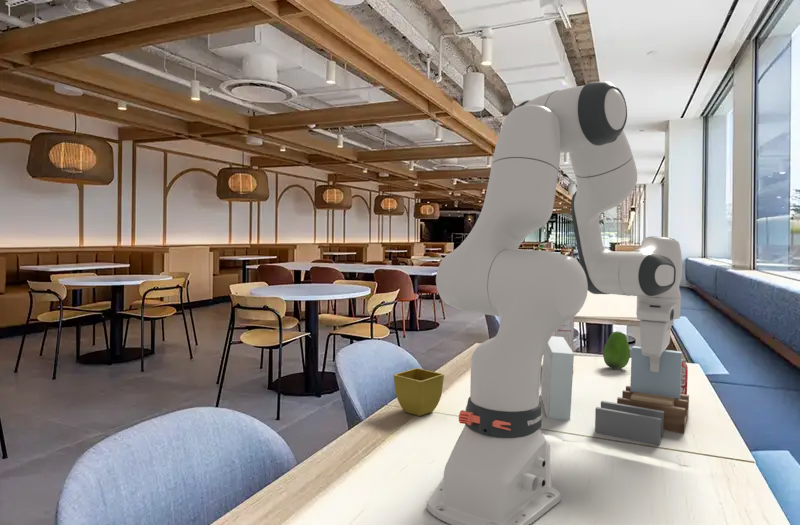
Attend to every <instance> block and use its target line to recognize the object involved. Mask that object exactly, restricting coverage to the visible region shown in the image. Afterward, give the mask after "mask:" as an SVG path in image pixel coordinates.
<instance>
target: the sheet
mask: <svg viewBox="0 0 800 525" xmlns="http://www.w3.org/2000/svg"><path fill="white" fill-rule="evenodd" d="M682 357H683V351H680V350H679V351H678V350H671V349H665V350H664V352H663V353H662V355H661V356H660V370H659V372H651V371H650V359H649V356H643V355H642V351H641V346H636V345H633V346H632V347H631V355H630V358H631V360H630V361H631V363H630V385H629V386H630V391H631V392H641V393H647V394H653V395H660V396H666V397H673V398H676V399H680V393H681V368H682Z"/></svg>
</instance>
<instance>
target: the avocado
mask: <svg viewBox="0 0 800 525" xmlns="http://www.w3.org/2000/svg"><path fill="white" fill-rule="evenodd" d="M627 337H628V336H627V335H626V334H625V333H624V332H622V331H618V330H617V331H613V332H612V333H611V334H610V335H609V337H608V338H607V340H606V343H605V344H604V347H603V353H602V355H603V356H602V357H603V360H604V363H605V365H606V366H607V367H609V368H610V369H612V370H621V369H623V368H625V367H626V366H627V365H628V364H629V361H630V358H631V349H630V344H629V340H628V338H627Z"/></svg>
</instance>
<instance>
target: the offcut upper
mask: <svg viewBox="0 0 800 525" xmlns="http://www.w3.org/2000/svg"><path fill="white" fill-rule="evenodd" d="M631 399H633V400H639V401H645V402H651V403H657V404H663V405H669V406H674V398H673V397H666V396H660V395H653V394H647V393H641V392H633V394H632V395H631Z"/></svg>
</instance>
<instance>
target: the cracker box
mask: <svg viewBox="0 0 800 525" xmlns="http://www.w3.org/2000/svg"><path fill="white" fill-rule="evenodd" d="M552 336H555V337H564V339H565V341H566V342H567V344H568V345H569V347H570V348H571V350H572V352H573V353H574V346H575V345H574V343H575V342H574V341H575V340H574V338H575V316H574V317H573V318H571V319H570V320H568V321H566V322H565V323H564V324H562V325H561V326H560V327H559V328H558V329H557V330H556V331H555V332H554V334H553V335H552Z"/></svg>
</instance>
